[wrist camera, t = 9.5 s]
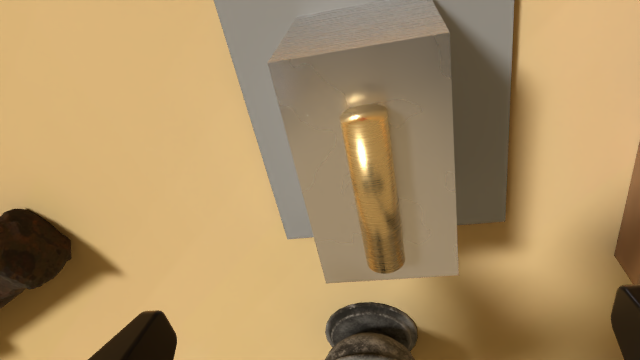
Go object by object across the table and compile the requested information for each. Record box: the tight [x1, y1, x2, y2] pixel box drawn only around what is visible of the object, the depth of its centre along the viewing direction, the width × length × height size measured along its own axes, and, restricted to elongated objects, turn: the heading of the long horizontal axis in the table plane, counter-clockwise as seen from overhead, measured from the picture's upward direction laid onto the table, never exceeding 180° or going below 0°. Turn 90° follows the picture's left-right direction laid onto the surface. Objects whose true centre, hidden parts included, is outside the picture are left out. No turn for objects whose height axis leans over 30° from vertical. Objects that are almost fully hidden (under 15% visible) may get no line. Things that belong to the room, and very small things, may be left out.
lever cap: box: [268, 0, 459, 283], centre depth 14 cm, size 8×4×6 cm, turn 12°
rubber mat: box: [214, 0, 514, 239], centre depth 17 cm, size 12×10×1 cm
